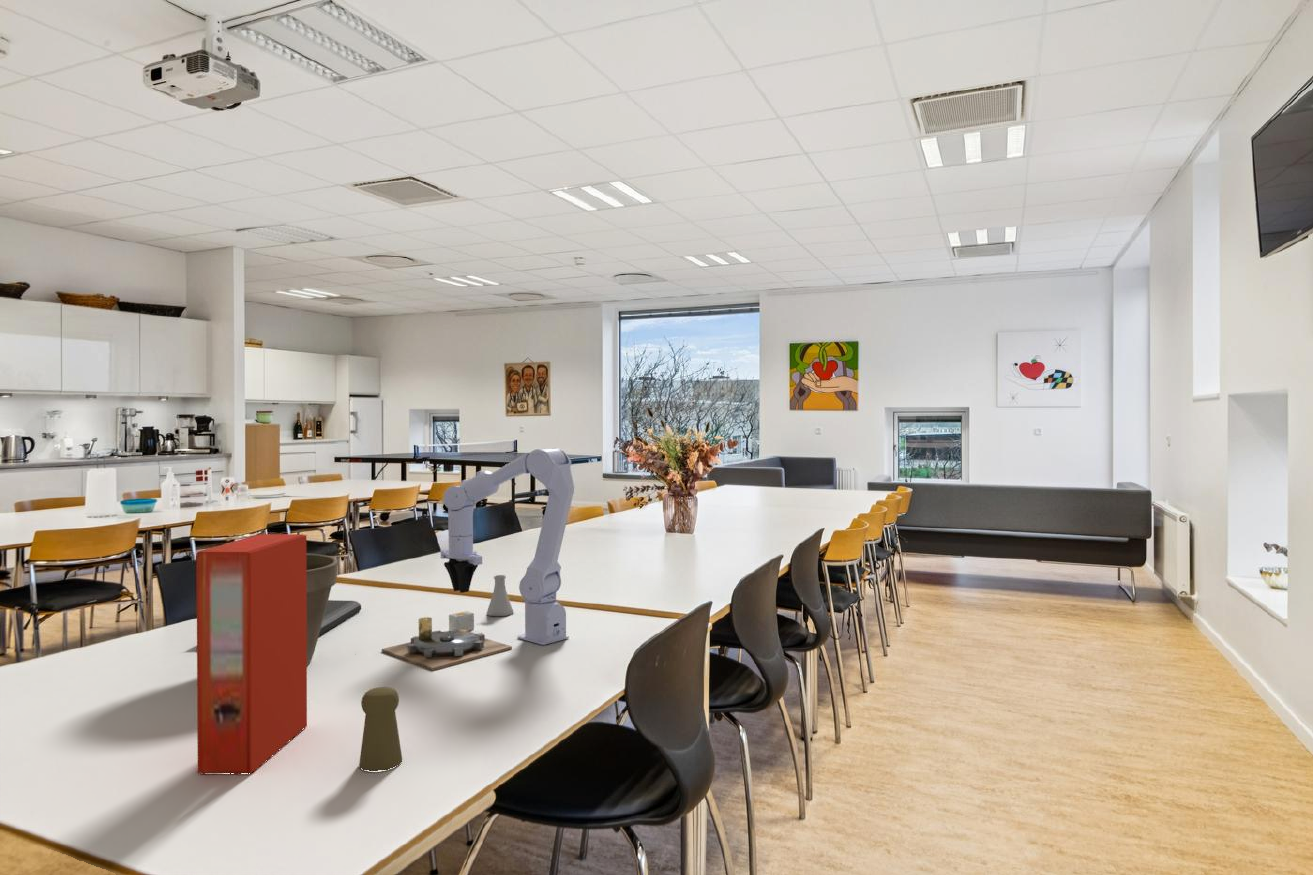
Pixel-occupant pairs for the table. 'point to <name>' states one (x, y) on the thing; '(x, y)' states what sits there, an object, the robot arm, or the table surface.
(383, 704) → the olive pawn
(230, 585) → the file binder
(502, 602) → the flask
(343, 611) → the closed laptop
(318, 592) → the plant pot
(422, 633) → the sprocket
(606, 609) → the table surface
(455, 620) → the grey rectangular block
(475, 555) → the robot arm
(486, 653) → the board
